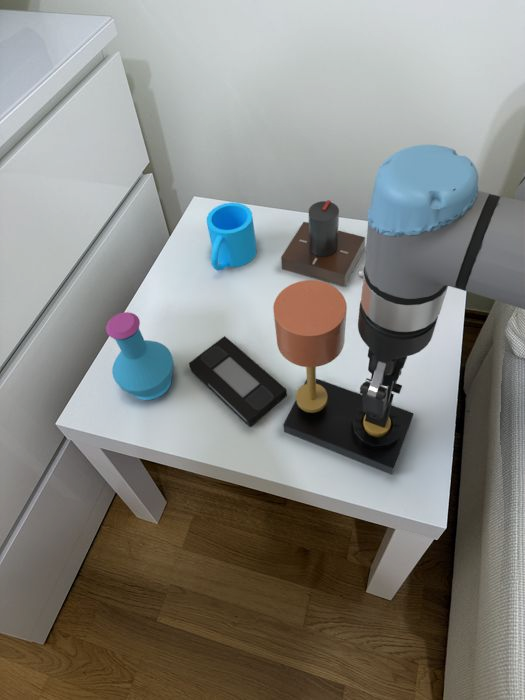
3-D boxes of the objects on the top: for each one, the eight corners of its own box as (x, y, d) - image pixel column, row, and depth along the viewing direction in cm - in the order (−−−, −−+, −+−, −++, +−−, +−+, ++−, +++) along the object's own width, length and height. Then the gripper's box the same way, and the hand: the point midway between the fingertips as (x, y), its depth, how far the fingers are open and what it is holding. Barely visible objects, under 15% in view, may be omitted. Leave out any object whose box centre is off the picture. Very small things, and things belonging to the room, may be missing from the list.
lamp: (348, 386, 73) (357, 291, 57) (327, 432, 69) (330, 345, 53) (297, 368, 76) (291, 272, 60) (274, 412, 72) (261, 322, 56)
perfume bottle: (131, 356, 85) (100, 295, 73) (185, 359, 84) (162, 298, 71) (114, 404, 80) (77, 348, 68) (171, 409, 78) (144, 352, 66)
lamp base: (411, 420, 74) (415, 406, 71) (391, 475, 69) (395, 463, 66) (308, 383, 79) (308, 368, 76) (283, 431, 74) (282, 418, 71)
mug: (225, 233, 101) (218, 199, 94) (263, 242, 98) (259, 207, 92) (197, 276, 94) (188, 242, 88) (237, 286, 92) (231, 252, 85)
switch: (392, 422, 71) (394, 415, 69) (384, 444, 69) (385, 437, 68) (367, 412, 72) (368, 405, 71) (358, 434, 71) (359, 427, 69)
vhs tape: (250, 427, 75) (248, 421, 74) (190, 370, 82) (188, 363, 81) (286, 396, 78) (286, 389, 76) (226, 343, 85) (224, 335, 83)
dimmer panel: (364, 249, 95) (365, 236, 92) (344, 287, 90) (345, 274, 87) (303, 233, 98) (303, 220, 96) (281, 269, 94) (280, 256, 91)
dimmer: (331, 259, 90) (332, 222, 83) (304, 252, 91) (303, 215, 84) (341, 241, 92) (343, 203, 85) (315, 234, 94) (315, 196, 87)
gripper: (383, 250, 54) (366, 373, 73) (338, 343, 48) (332, 450, 67) (455, 269, 52) (418, 390, 71) (418, 369, 45) (388, 473, 65)
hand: (376, 419), depth 69 cm, fingers closed
